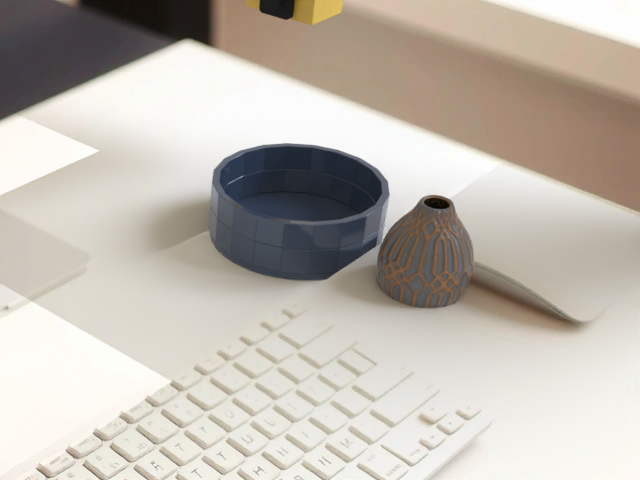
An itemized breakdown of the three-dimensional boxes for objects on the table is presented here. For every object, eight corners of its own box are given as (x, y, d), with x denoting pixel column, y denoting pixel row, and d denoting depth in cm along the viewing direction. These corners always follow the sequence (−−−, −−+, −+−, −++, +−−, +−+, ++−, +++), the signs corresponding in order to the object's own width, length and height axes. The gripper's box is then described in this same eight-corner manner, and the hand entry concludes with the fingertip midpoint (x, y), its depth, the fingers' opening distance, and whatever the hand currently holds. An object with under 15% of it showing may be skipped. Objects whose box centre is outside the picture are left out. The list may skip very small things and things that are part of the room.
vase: (426, 341, 78) (448, 236, 73) (352, 301, 82) (368, 199, 77) (481, 307, 82) (506, 204, 77) (407, 270, 86) (426, 171, 81)
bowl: (277, 179, 99) (282, 128, 96) (412, 234, 91) (422, 180, 88) (174, 235, 90) (176, 181, 87) (313, 301, 82) (321, 244, 79)
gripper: (293, -210, 76) (270, 44, 87) (417, -235, 86) (382, -5, 97) (210, -222, 80) (198, 21, 91) (338, -245, 90) (313, -23, 101)
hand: (293, 5), depth 93 cm, fingers closed on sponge, 4 cm apart
